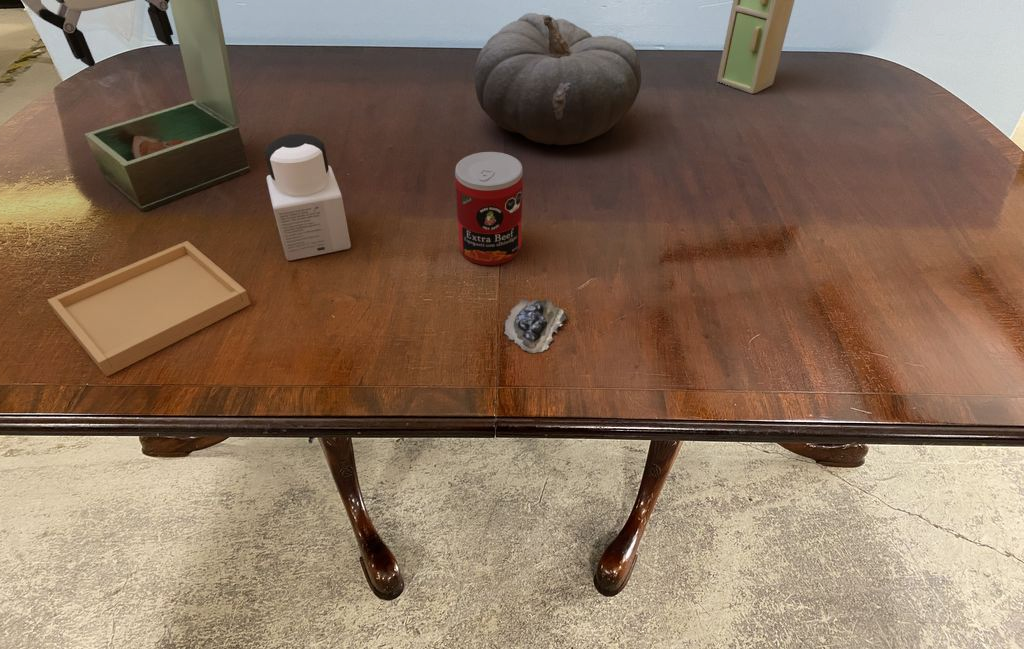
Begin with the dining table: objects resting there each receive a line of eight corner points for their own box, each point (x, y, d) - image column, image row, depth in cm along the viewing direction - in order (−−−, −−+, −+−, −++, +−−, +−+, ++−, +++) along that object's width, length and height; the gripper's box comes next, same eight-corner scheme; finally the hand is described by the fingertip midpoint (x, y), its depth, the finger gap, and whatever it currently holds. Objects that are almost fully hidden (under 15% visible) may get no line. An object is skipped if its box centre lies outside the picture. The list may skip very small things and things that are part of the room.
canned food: (458, 267, 79) (453, 185, 72) (459, 230, 85) (455, 151, 78) (522, 266, 79) (524, 184, 72) (519, 229, 85) (521, 150, 78)
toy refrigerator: (712, 82, 122) (739, -45, 108) (735, 73, 126) (764, -52, 112) (750, 96, 118) (783, -36, 104) (772, 85, 122) (807, -43, 108)
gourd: (505, 68, 119) (519, -33, 106) (638, 110, 116) (669, 12, 103) (448, 140, 104) (456, 33, 90) (600, 192, 100) (630, 88, 87)
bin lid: (209, -7, 81) (216, -8, 82) (163, -27, 88) (169, -28, 88) (234, 124, 91) (240, 123, 92) (191, 97, 98) (196, 96, 98)
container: (279, 228, 85) (254, 133, 76) (340, 217, 87) (322, 123, 79) (287, 262, 80) (261, 163, 71) (351, 249, 82) (334, 151, 73)
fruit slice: (212, 162, 96) (202, 129, 93) (189, 185, 91) (177, 152, 88) (158, 157, 97) (146, 125, 94) (132, 180, 92) (118, 147, 89)
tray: (106, 377, 65) (98, 362, 64) (55, 313, 72) (47, 299, 71) (250, 304, 74) (246, 290, 72) (192, 254, 81) (187, 240, 79)
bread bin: (143, 212, 88) (123, 165, 83) (104, 179, 94) (84, 133, 90) (250, 171, 96) (238, 126, 92) (208, 143, 103) (194, 100, 98)
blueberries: (566, 305, 74) (567, 291, 73) (568, 355, 68) (569, 341, 67) (506, 303, 74) (506, 289, 73) (502, 352, 68) (502, 339, 67)
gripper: (132, -123, 78) (180, 28, 90) (-35, -103, 69) (43, 63, 80) (160, -116, 74) (207, 42, 86) (-12, -93, 65) (66, 80, 77)
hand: (128, 52), depth 83 cm, fingers open, 9 cm apart
